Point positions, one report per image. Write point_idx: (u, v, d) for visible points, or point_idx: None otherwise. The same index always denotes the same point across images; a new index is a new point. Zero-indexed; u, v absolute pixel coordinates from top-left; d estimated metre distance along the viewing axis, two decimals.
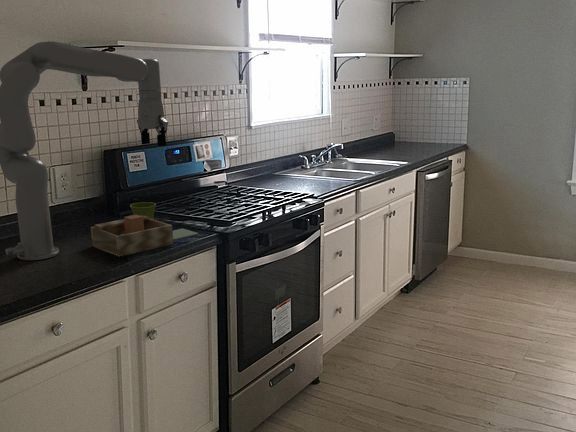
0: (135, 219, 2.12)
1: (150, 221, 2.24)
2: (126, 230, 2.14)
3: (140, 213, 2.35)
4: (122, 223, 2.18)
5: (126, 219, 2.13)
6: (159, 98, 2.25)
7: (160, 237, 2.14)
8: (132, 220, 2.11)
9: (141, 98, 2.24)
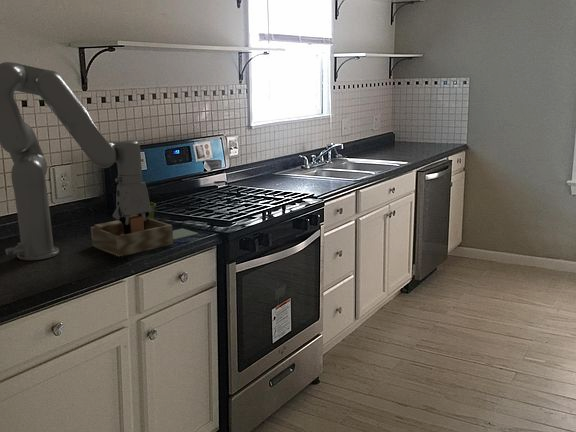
0: (135, 219, 2.12)
1: (150, 221, 2.24)
2: None
3: None
4: (122, 223, 2.18)
5: None
6: None
7: (160, 237, 2.14)
8: (132, 220, 2.11)
9: (136, 183, 2.08)
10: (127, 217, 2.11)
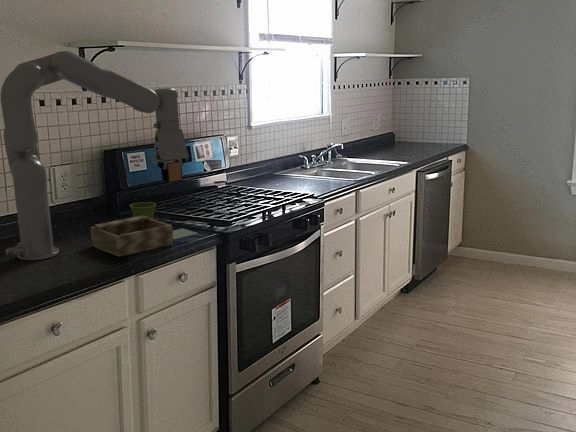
0: (173, 164, 2.20)
1: (150, 221, 2.24)
2: None
3: (140, 213, 2.35)
4: (122, 223, 2.18)
5: None
6: None
7: (160, 237, 2.14)
8: (170, 165, 2.19)
9: (174, 128, 2.17)
10: (165, 162, 2.19)
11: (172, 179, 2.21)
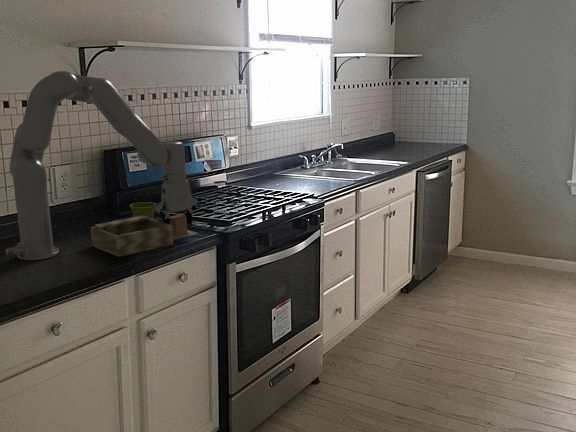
0: (179, 219, 2.26)
1: (150, 221, 2.24)
2: None
3: (140, 213, 2.35)
4: (122, 223, 2.18)
5: (170, 219, 2.27)
6: None
7: (160, 237, 2.14)
8: (176, 220, 2.25)
9: (181, 181, 2.22)
10: (168, 212, 2.23)
11: (178, 234, 2.26)
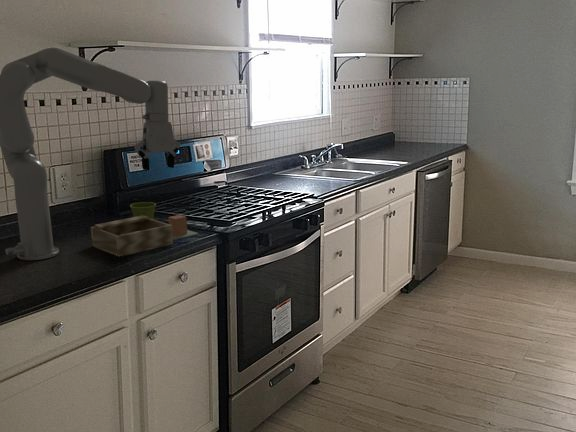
0: (179, 219, 2.26)
1: (150, 221, 2.24)
2: None
3: (140, 213, 2.35)
4: (122, 223, 2.18)
5: (170, 219, 2.27)
6: None
7: (160, 237, 2.14)
8: (176, 220, 2.25)
9: (163, 121, 2.17)
10: (148, 152, 2.18)
11: (178, 234, 2.26)
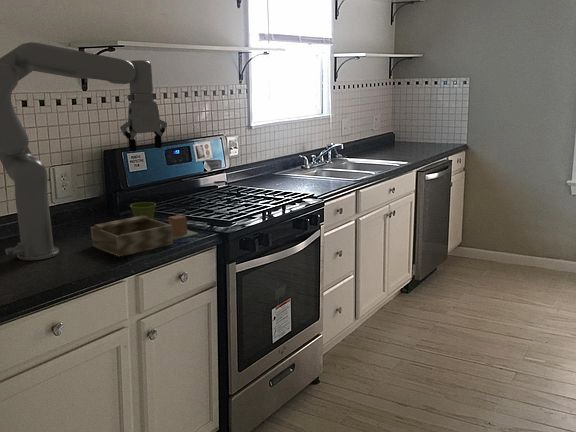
0: (179, 219, 2.26)
1: (150, 221, 2.24)
2: None
3: (140, 213, 2.35)
4: (122, 223, 2.18)
5: (170, 219, 2.27)
6: None
7: (160, 237, 2.14)
8: (176, 220, 2.25)
9: (148, 100, 2.15)
10: (134, 133, 2.17)
11: (178, 234, 2.26)
